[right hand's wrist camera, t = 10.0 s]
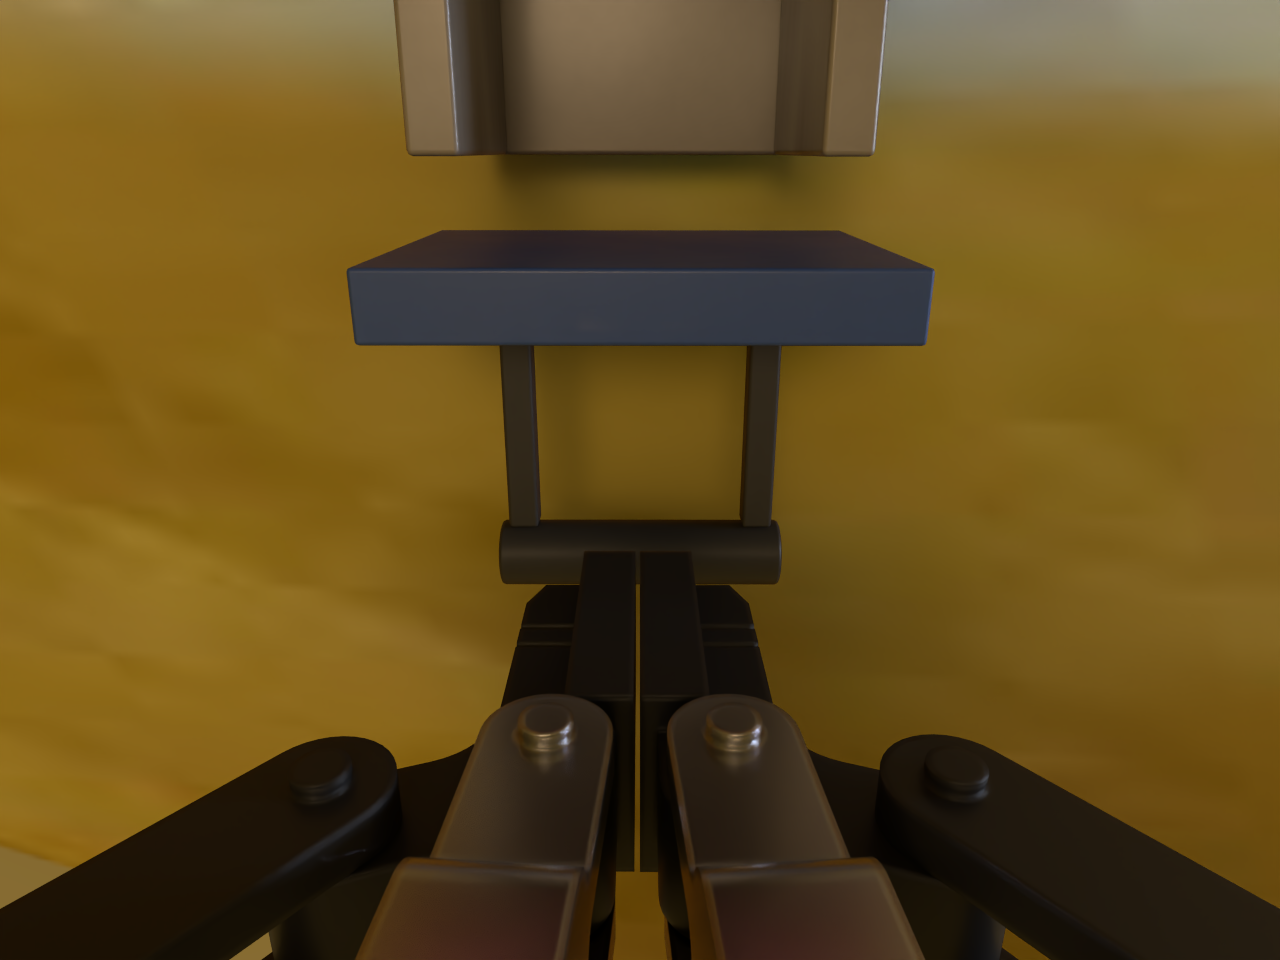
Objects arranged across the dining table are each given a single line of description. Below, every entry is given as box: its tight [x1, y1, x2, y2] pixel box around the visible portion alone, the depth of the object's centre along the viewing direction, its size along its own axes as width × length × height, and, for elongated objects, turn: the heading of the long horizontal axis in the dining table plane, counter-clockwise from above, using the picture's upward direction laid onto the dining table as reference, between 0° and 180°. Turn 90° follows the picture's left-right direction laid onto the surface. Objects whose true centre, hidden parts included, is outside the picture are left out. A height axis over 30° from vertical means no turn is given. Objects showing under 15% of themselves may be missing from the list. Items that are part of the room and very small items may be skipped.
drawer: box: [347, 0, 935, 584], centre depth 15 cm, size 20×9×7 cm, turn 0°
